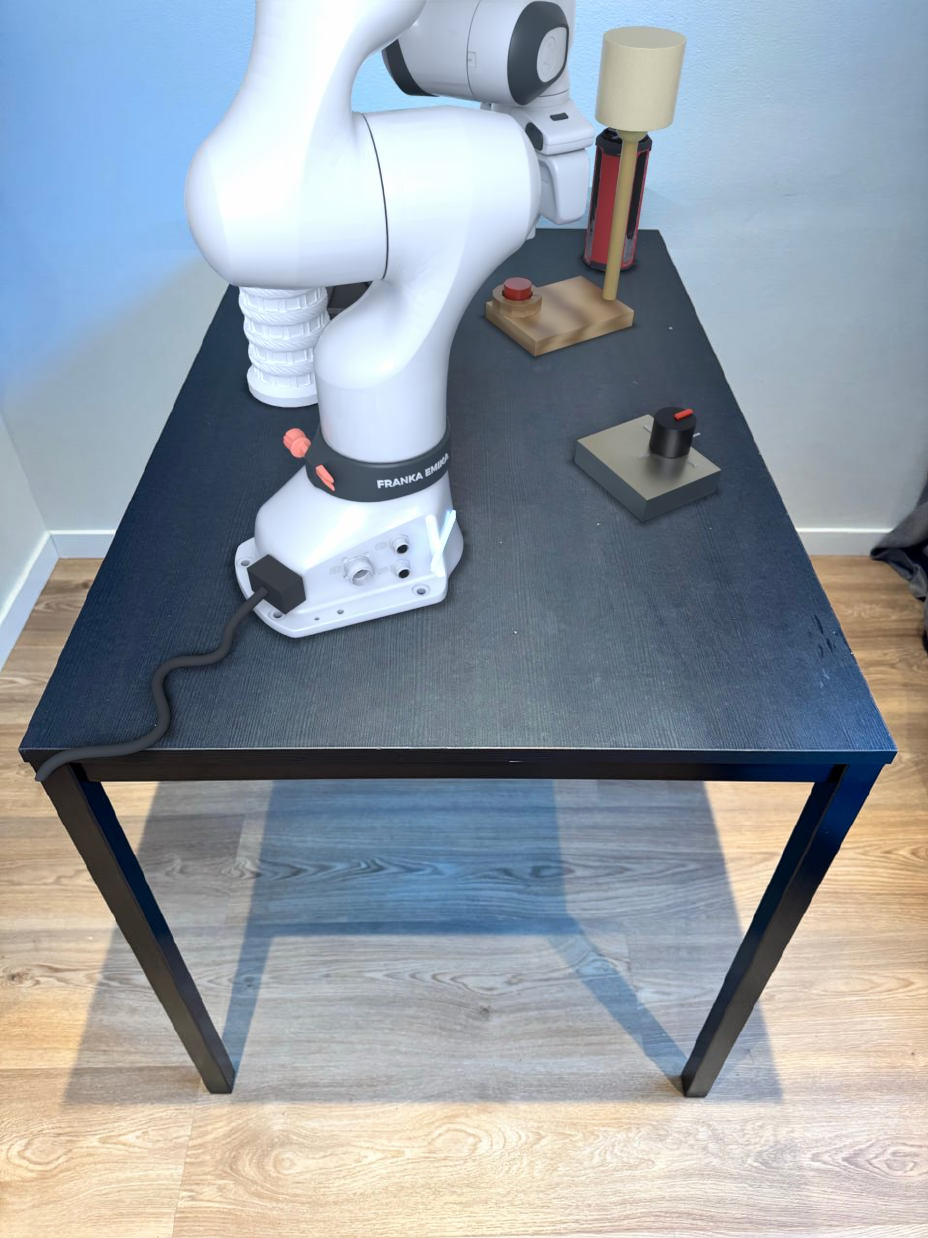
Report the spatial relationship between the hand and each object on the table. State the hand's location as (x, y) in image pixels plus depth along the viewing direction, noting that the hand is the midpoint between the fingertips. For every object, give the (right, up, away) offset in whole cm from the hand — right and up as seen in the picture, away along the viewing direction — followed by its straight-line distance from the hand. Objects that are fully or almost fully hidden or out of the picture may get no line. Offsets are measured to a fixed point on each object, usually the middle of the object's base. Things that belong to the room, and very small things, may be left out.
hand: (522, 235), depth 111 cm
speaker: (+14, +5, +22) cm, 26 cm away
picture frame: (-19, -2, +14) cm, 24 cm away
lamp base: (+5, -8, +9) cm, 13 cm away
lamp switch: (0, -5, +6) cm, 8 cm away
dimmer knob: (+15, -30, -16) cm, 37 cm away
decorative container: (-28, -19, -2) cm, 34 cm away
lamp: (+12, -6, +5) cm, 14 cm away
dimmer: (+13, -33, -14) cm, 38 cm away
